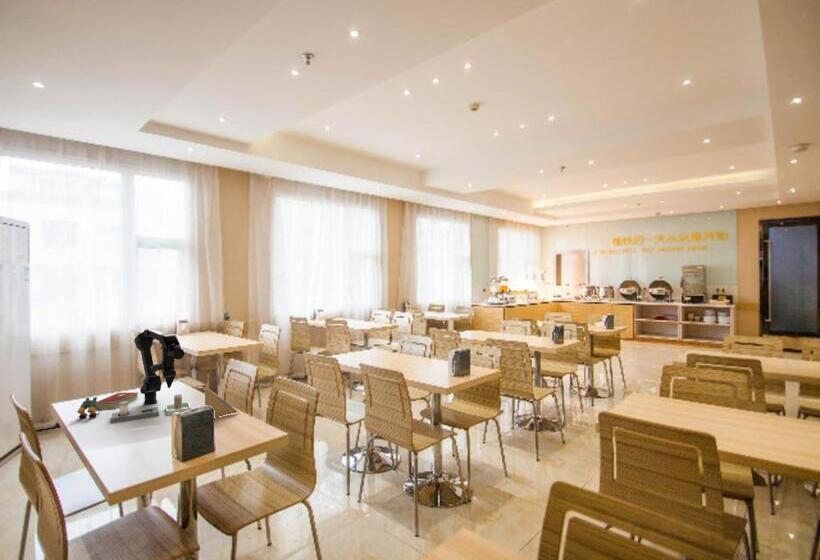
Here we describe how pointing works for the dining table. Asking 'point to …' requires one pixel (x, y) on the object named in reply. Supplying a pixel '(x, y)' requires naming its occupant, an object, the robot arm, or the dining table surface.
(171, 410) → the parts tray
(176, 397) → the fuse
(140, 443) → the dining table surface
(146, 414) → the fuse block
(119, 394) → the hardcover book
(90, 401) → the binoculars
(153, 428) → the dining table surface
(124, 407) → the fuse
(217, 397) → the sandwich container
